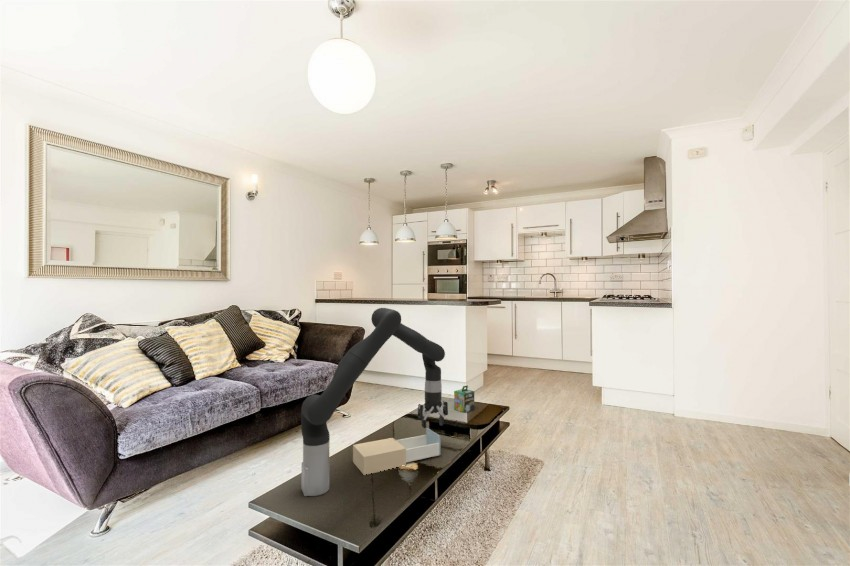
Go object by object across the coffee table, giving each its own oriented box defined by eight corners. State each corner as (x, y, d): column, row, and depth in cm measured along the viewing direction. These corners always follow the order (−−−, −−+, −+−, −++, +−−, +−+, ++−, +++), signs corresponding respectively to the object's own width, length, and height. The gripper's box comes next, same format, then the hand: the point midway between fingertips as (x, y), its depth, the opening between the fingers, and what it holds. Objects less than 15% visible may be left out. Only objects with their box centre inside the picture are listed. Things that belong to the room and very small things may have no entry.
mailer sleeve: (363, 475, 153) (363, 457, 153) (352, 461, 165) (353, 444, 165) (405, 465, 161) (405, 448, 161) (392, 453, 173) (392, 437, 174)
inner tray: (386, 466, 158) (386, 446, 158) (376, 455, 169) (376, 436, 169) (440, 454, 170) (440, 435, 170) (427, 445, 180) (427, 427, 181)
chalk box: (464, 406, 246) (464, 383, 247) (475, 410, 239) (474, 385, 240) (453, 409, 241) (453, 385, 241) (464, 413, 234) (464, 387, 234)
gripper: (422, 393, 169) (422, 431, 169) (451, 390, 176) (450, 426, 175) (415, 389, 176) (414, 426, 175) (442, 386, 183) (442, 422, 182)
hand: (432, 426), depth 175 cm, fingers open, 8 cm apart
